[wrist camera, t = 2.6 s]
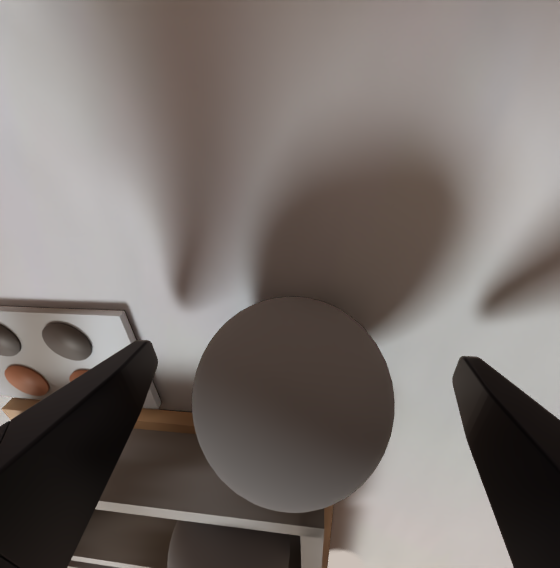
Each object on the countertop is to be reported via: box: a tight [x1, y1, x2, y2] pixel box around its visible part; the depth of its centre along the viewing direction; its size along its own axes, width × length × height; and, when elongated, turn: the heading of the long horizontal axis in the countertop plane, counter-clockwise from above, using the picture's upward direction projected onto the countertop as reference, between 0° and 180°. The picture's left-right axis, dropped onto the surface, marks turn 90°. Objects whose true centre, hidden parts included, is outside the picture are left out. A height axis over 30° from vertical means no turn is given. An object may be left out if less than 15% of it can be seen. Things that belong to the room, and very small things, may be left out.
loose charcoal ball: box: [192, 297, 394, 513], centre depth 8 cm, size 5×5×5 cm
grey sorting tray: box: [0, 306, 334, 568], centre depth 15 cm, size 16×24×3 cm, turn 3°
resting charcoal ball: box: [167, 520, 290, 568], centre depth 13 cm, size 5×5×5 cm
